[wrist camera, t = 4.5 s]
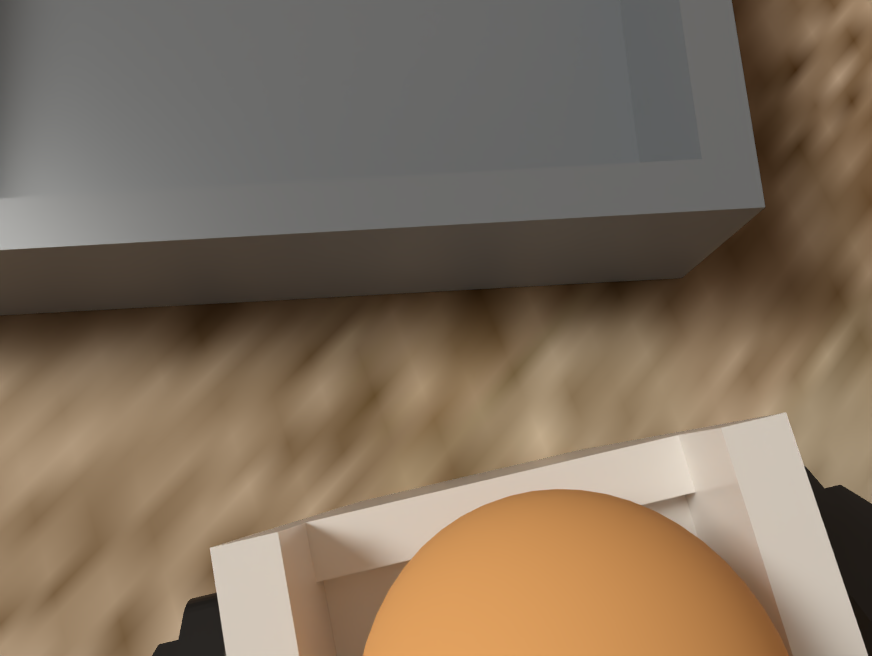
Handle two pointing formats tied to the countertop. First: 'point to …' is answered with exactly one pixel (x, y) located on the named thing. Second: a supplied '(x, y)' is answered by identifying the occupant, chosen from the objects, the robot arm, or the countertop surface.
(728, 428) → the open white crate
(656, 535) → the ball
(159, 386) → the countertop surface
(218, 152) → the tray
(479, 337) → the countertop surface
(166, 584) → the countertop surface
